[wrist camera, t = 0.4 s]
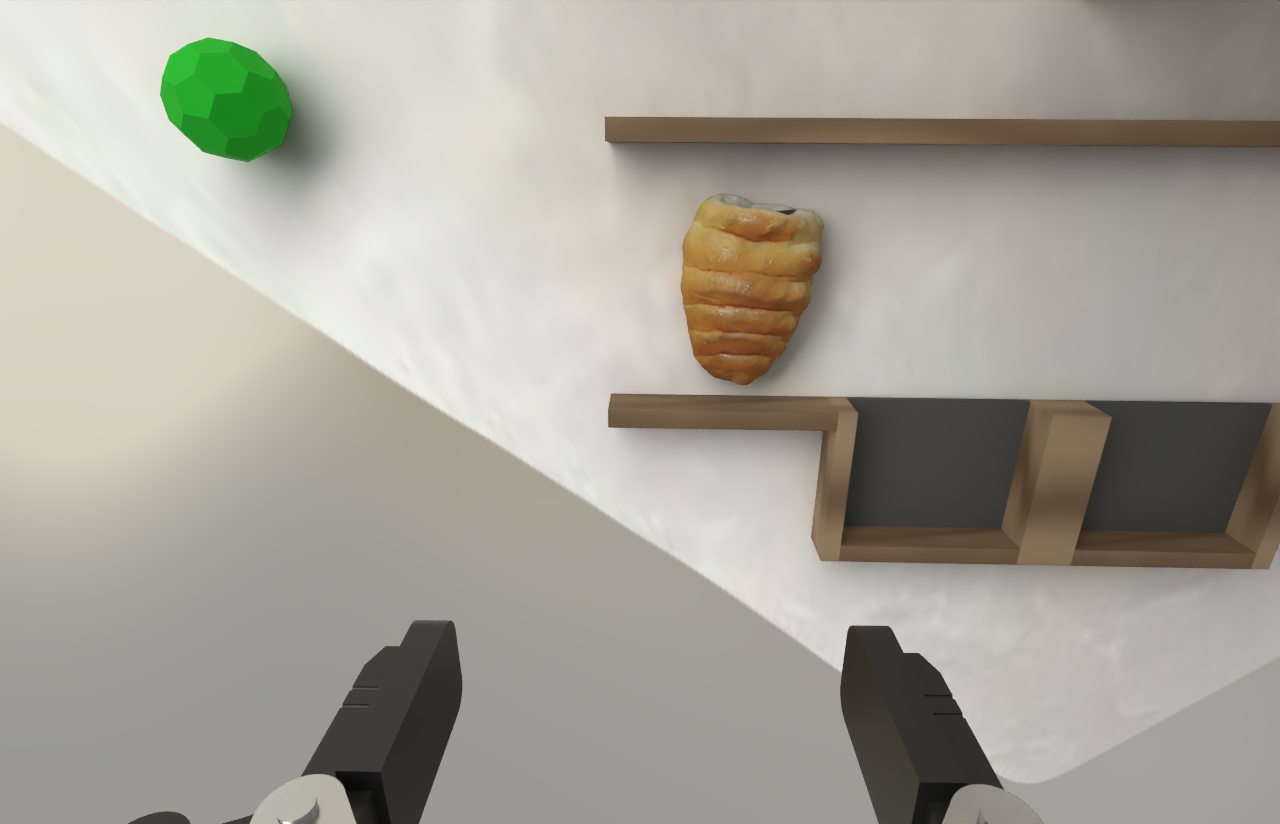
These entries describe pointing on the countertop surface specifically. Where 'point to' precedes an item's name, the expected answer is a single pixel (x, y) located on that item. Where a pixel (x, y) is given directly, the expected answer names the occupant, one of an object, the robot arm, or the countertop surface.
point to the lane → (1055, 429)
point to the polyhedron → (226, 99)
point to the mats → (988, 450)
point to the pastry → (746, 282)
